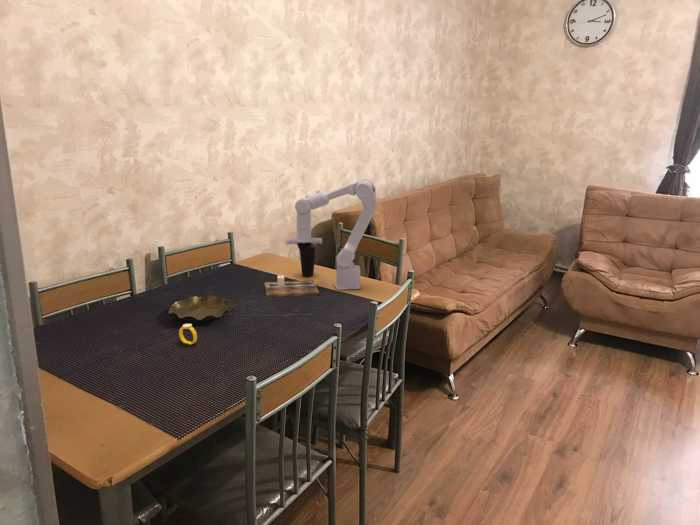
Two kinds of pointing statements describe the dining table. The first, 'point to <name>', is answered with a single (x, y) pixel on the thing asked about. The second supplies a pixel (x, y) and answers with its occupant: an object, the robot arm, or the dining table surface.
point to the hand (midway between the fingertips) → (304, 261)
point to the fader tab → (280, 280)
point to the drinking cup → (309, 262)
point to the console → (291, 288)
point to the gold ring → (189, 326)
